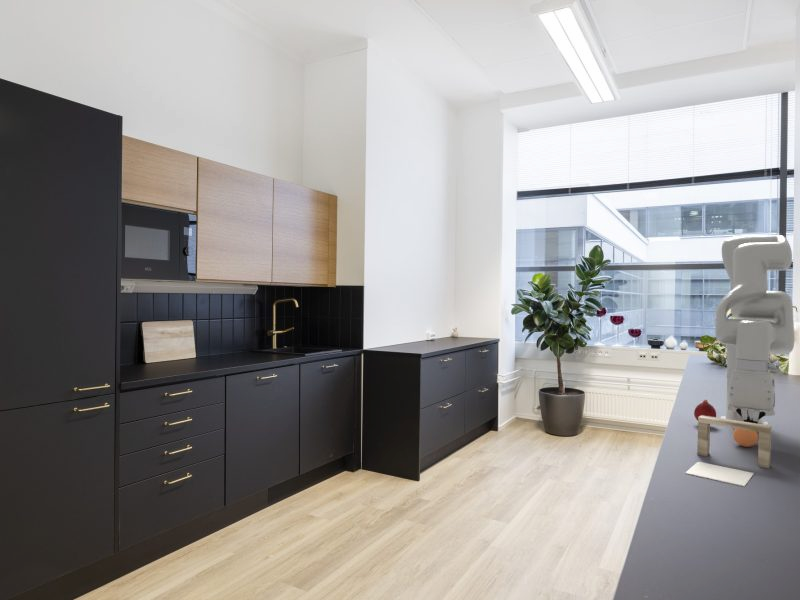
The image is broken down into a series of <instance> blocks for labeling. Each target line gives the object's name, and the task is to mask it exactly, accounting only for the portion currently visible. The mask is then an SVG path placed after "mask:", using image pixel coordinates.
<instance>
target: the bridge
mask: <svg viewBox="0 0 800 600" xmlns="http://www.w3.org/2000/svg"><path fill="white" fill-rule="evenodd" d="M711 425H716V426H719V427H720V426H722V427H725V428H726V427H727V428H732V429H735V428H739V429H745V430H751V431H757V433H758V446H757V447H758V450H757V452H758V453H757V467H758V468H759V467H760V468H764V469H769V468H770V467H771V459H772V458H771V457H772V455H771V454H772V453H771V452H772V430H773V429H772V427H773V426H772V425H769V424H768V425H762V424H756V423H749V422H742V421H736V420H729V419H723V418H720V417H717V416H716V417H710V416H703V415H701V416H699V417H698V421H697V443H696V444H697V447H696V448H697V449H696V454H697V455H699V456H703V457H707V456H708V455H710V442H711V440H710V439H711V438H710V437H711Z"/></svg>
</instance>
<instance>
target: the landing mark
mask: <svg viewBox="0 0 800 600" xmlns="http://www.w3.org/2000/svg"><path fill="white" fill-rule="evenodd" d="M684 474H685V475H690V476H695V477H699V478H702V479H703V478H704V479H707V478H708V480H713V481H716V480H717V482H721V483H726V484H731V485H734V486H735V485H736V486H739V487H744V488H745V487H746V485H747V484H748V483H749V481H750V480H751V479H752V477H753V476H754V474H755V472H750V471H746V470H741V469H738V468H737V469H735V468H730V467H726V466H720V465H716V464H711V463H707V462H704V461H703V462H702V461H697V462H696V463H694V465H692V466H691V467H690V468H689V469H688V470H687V471H686V472H684Z"/></svg>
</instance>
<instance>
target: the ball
mask: <svg viewBox="0 0 800 600" xmlns="http://www.w3.org/2000/svg"><path fill="white" fill-rule="evenodd" d="M732 436H733V437H732V438H733V439H734V441H735V442H736V443H737V444H738V445H739V446H741V447H745V448H749V447H753V446H755V445H756V444H757V442H759V433H758V432H756V431H751V430H745V429H739V428H734V430H733V433H732Z"/></svg>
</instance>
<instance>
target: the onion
mask: <svg viewBox="0 0 800 600" xmlns="http://www.w3.org/2000/svg"><path fill="white" fill-rule="evenodd" d="M693 415H694V418H695V419H696V421H697V422H698V417H699V416H701V415H703V416H710V417H716V418H717V411H716V409H715V407H714V406H713V405H712V404H711V403H710V402H708V400H707V399H703V401H702V402H701V403H698V404H697V406H696V407H695V408H694V411H693Z"/></svg>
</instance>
